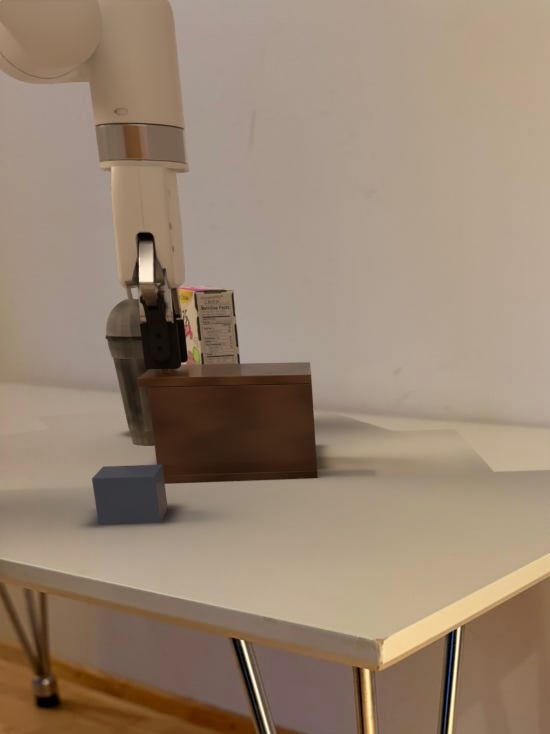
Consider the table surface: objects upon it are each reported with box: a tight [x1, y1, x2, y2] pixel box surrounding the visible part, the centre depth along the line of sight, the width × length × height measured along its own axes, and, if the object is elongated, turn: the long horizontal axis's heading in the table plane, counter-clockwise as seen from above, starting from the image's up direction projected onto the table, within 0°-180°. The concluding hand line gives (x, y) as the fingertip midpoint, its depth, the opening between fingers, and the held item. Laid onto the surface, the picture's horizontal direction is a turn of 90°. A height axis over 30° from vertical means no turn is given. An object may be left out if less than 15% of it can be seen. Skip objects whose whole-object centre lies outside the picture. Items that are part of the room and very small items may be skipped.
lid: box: [137, 361, 313, 387], centre depth 94 cm, size 15×12×5 cm
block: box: [91, 464, 169, 526], centre depth 76 cm, size 4×4×4 cm
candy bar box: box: [178, 285, 241, 365], centre depth 120 cm, size 11×5×16 cm, turn 32°
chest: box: [148, 382, 319, 485], centre depth 96 cm, size 15×12×9 cm
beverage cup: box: [105, 288, 155, 446], centre depth 109 cm, size 7×7×20 cm
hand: (167, 363), depth 93 cm, fingers closed on lid, 5 cm apart
